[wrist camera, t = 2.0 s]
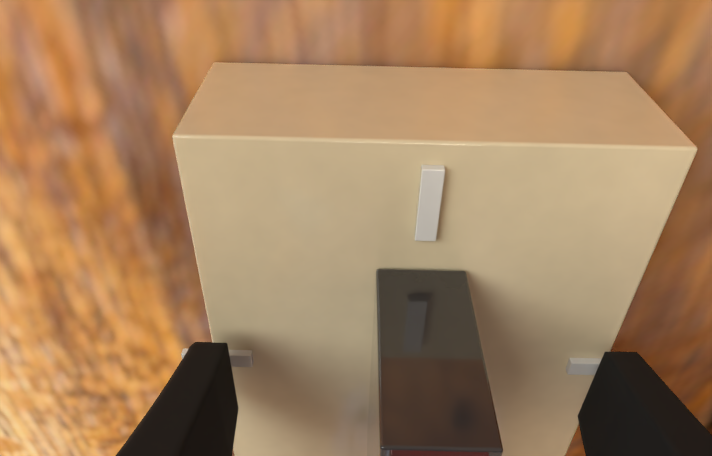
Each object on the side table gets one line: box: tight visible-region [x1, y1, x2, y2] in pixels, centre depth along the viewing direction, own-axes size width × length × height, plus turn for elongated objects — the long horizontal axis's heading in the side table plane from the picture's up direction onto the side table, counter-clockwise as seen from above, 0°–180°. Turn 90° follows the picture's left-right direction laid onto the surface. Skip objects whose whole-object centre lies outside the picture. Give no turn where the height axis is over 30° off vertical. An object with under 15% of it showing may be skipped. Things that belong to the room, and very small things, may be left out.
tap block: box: [172, 62, 697, 456], centre depth 13 cm, size 10×9×3 cm
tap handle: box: [367, 269, 503, 456], centre depth 10 cm, size 5×2×4 cm, turn 179°
